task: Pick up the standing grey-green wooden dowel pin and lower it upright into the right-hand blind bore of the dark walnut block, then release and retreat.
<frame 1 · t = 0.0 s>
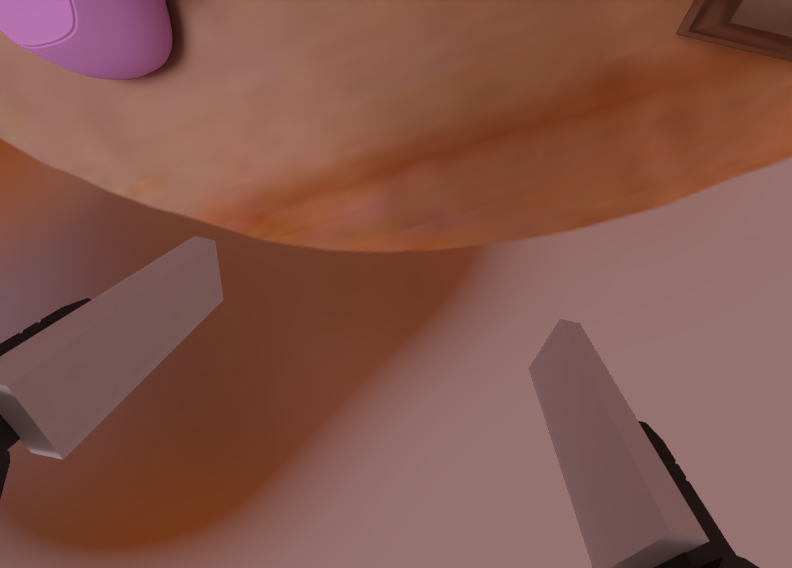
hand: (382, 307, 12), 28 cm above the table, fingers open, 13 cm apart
teapot: (111, 0, 31), on the table
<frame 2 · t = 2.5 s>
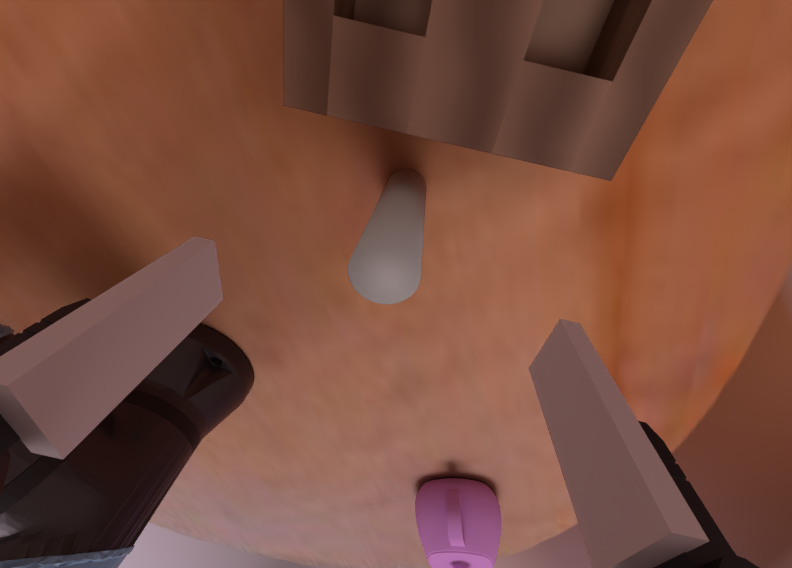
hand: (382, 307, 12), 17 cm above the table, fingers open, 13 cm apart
teapot: (456, 493, 53), on the table
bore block: (476, 12, 20), on the table
pin: (406, 190, 26), on the table
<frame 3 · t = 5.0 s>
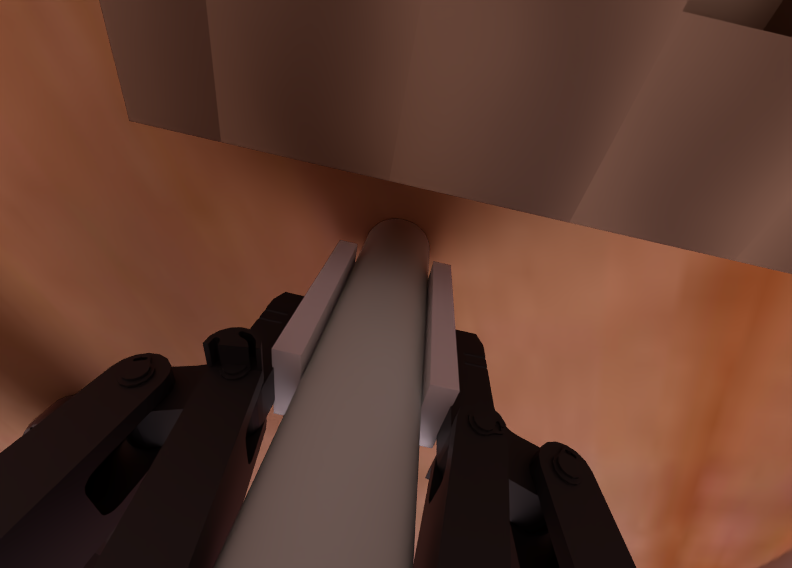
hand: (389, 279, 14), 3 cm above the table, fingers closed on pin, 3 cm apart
pin: (397, 249, 17), on the table, touching gripper
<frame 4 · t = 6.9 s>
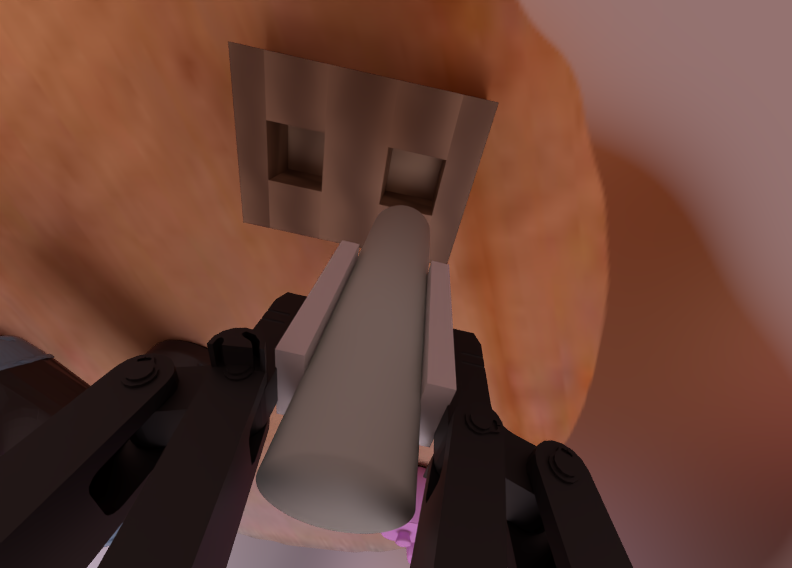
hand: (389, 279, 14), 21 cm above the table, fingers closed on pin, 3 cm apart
teapot: (408, 478, 64), on the table
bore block: (366, 157, 31), on the table
pin: (401, 233, 18), point 16 cm above the table, touching gripper
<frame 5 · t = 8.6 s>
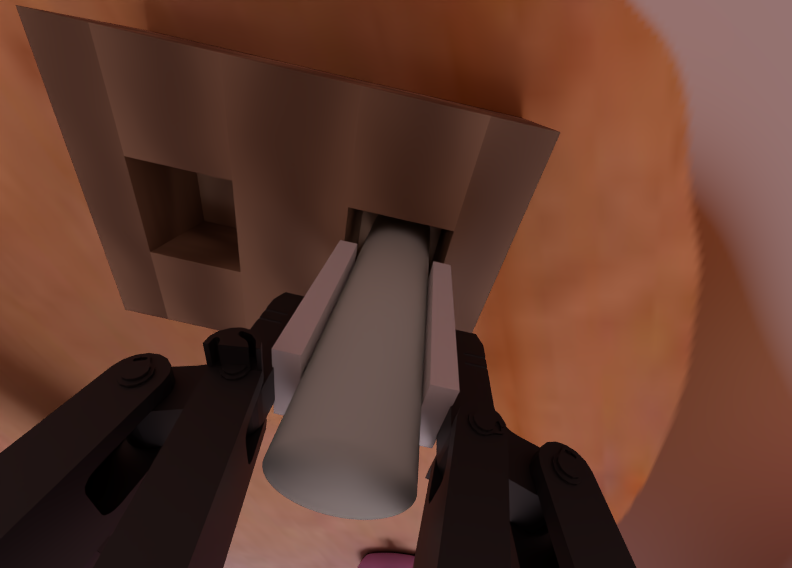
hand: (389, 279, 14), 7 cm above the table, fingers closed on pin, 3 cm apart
teapot: (399, 563, 53), on the table
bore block: (326, 203, 20), on the table
pin: (401, 231, 19), point 2 cm above the table, touching gripper
when the fingers open (7 cm above the table, at t = 9.3 s): pin stays where it is, resting on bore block.
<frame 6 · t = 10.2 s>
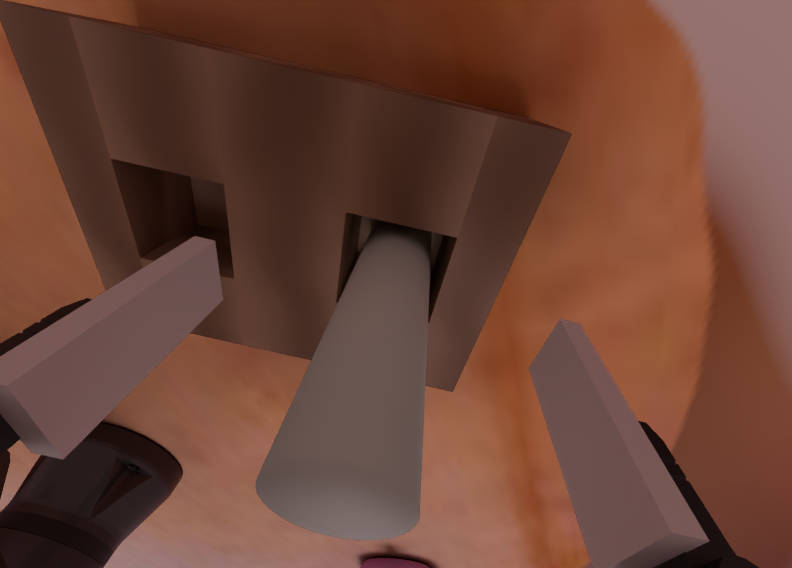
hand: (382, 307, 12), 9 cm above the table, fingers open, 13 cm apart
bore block: (324, 206, 19), on the table
pin: (402, 233, 18), point 2 cm above the table, touching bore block
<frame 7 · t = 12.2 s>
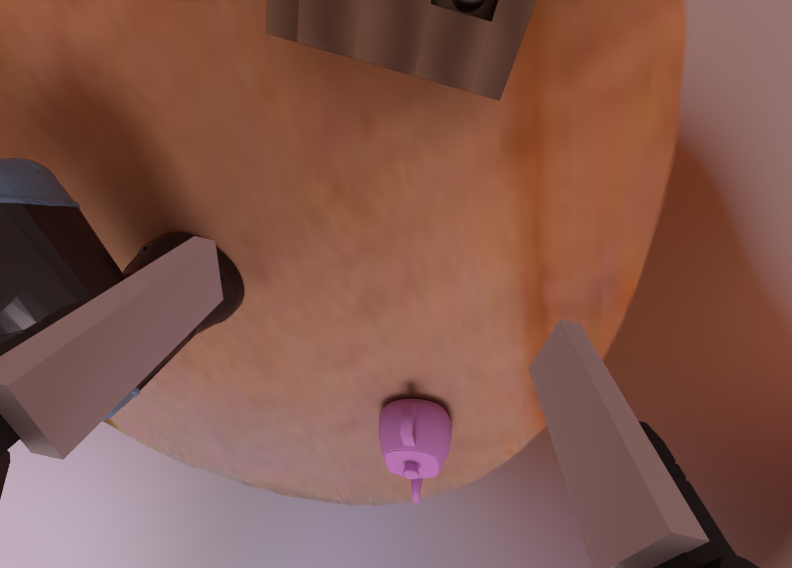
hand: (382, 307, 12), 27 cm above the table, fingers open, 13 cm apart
teapot: (416, 416, 61), on the table
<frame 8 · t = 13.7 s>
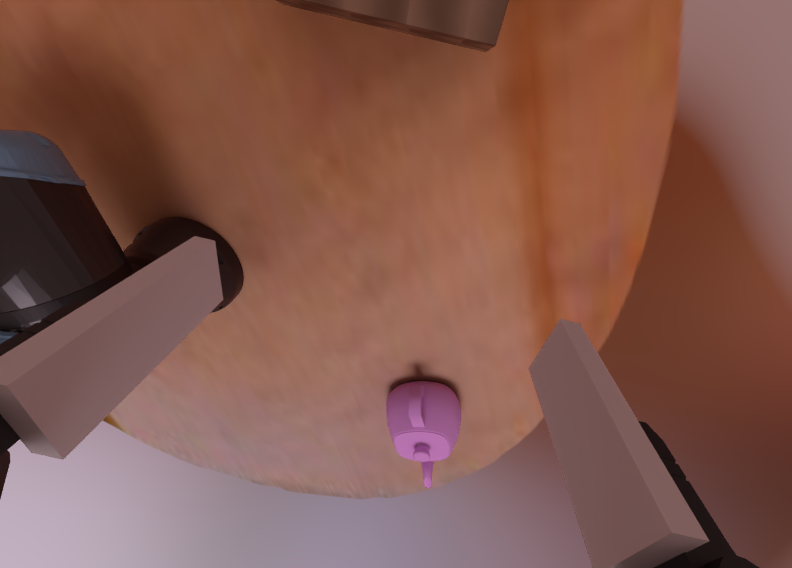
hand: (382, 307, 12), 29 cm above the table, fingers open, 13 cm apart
teapot: (424, 400, 59), on the table
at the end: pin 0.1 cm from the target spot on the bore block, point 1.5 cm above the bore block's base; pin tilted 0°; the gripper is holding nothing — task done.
